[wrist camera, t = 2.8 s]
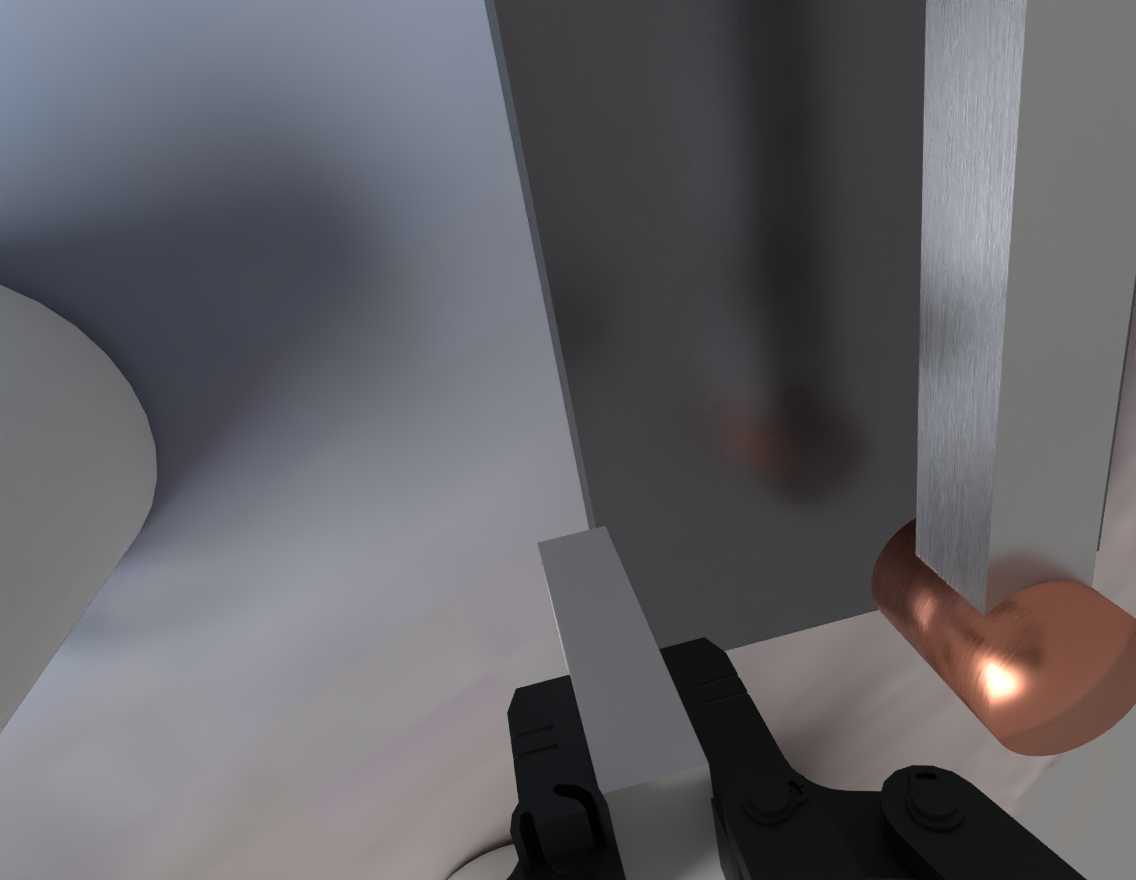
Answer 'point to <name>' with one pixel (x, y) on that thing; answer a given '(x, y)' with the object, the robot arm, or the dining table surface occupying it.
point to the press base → (731, 289)
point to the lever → (1021, 365)
